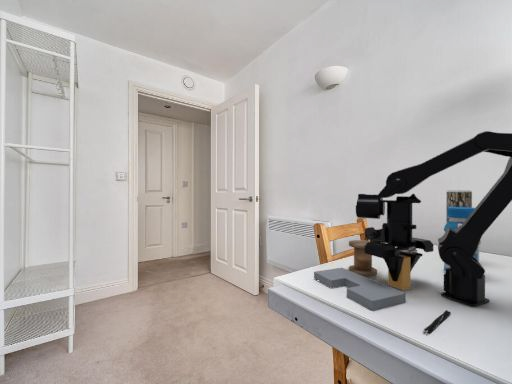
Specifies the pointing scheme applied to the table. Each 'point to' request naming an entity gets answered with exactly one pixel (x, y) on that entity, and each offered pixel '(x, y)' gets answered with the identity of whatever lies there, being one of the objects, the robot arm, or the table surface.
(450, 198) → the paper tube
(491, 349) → the table surface
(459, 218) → the beverage bottle
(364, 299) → the board
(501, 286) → the table surface
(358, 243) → the bobbin
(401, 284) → the tan upright block
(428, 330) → the black twisted rod
